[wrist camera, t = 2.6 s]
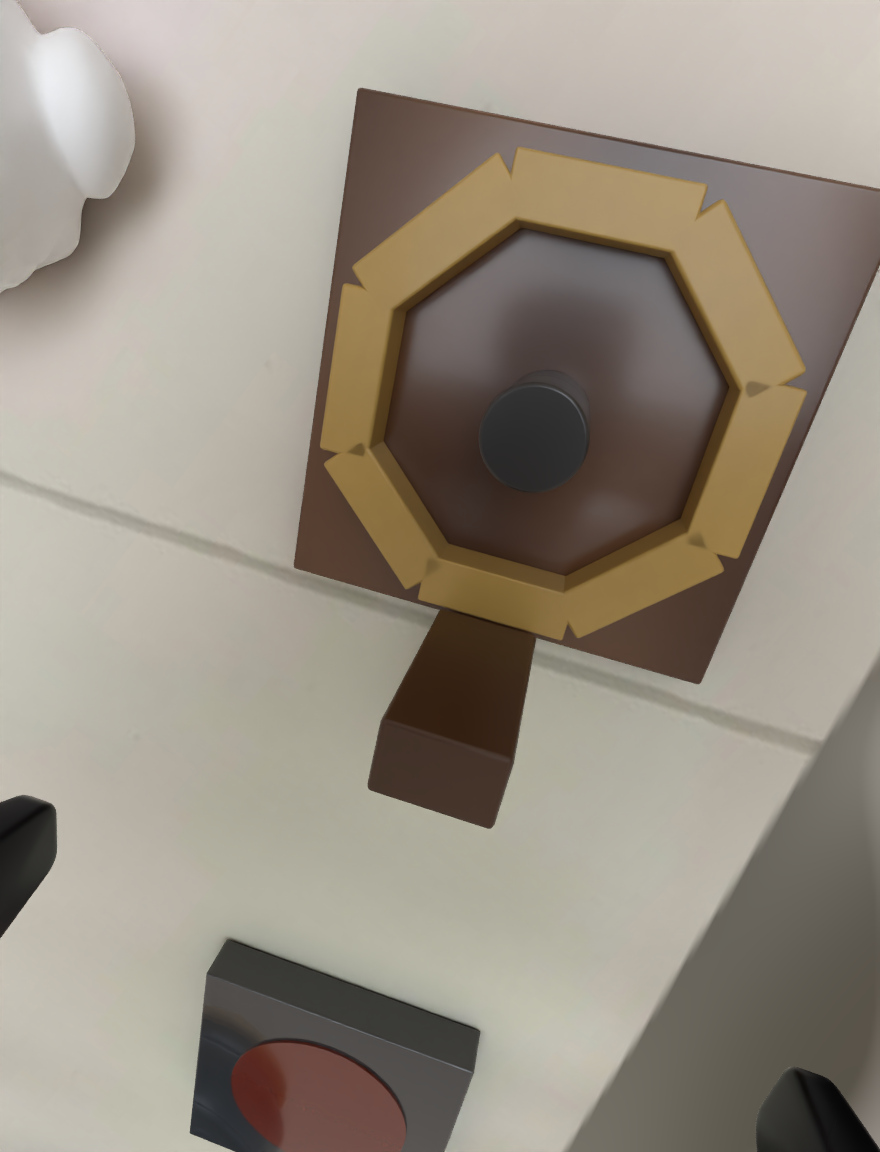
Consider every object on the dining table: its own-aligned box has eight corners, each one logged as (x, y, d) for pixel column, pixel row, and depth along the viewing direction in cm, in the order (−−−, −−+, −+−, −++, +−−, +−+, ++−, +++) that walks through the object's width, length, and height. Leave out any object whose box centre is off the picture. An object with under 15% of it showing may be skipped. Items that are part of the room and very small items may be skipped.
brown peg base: (890, 203, 13) (1023, 148, 9) (695, 668, 18) (726, 772, 13) (371, 100, 15) (283, 12, 10) (306, 556, 19) (226, 621, 15)
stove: (480, 1030, 24) (473, 1076, 23) (425, 1181, 28) (416, 1228, 26) (227, 938, 25) (204, 976, 24) (208, 1095, 29) (187, 1136, 28)
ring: (856, 227, 13) (1069, 148, 7) (660, 708, 17) (695, 898, 11) (382, 131, 14) (237, -3, 8) (312, 605, 18) (184, 732, 12)
